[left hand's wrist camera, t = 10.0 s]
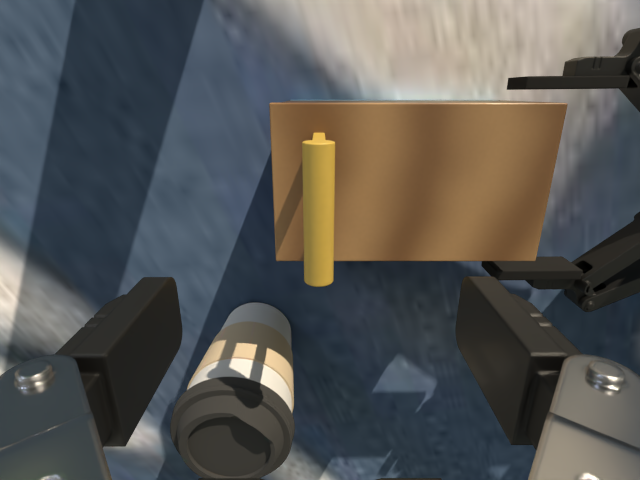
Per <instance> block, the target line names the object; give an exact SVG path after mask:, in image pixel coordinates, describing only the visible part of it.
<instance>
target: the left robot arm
mask: <svg viewBox="0 0 640 480" xmlns="http://www.w3.org/2000/svg"><path fill="white" fill-rule="evenodd" d="M181 340H182V322H181V315H180V308H179V300H178V293H177V286H176V282H175V280H174V279H173V278H172V277H144V278H142V279H141V280H140V281H139V282H138V283H137V284H136V285H135V286H134V287H133V288H132V289H131V291H130V292H129V293H128V294H127V295H122V296H120V297H118V298H116V299H114V300H112V301H111V302H109V303H107V304H105V305H104V306H103V307H102V308H101V309H100V310H99V311H98V312H97V313H96V314H95V315H94V318H91V319H90V320H89V321H88V322H87V323H86V324H85V327H82V328H81V329H80V330H79V331H78V332H77V333H76V334H75V335H74V336H73V337H72V338H71V339H70V340H69V341H68V342H67V343H66V344H65V345H64V346H63V347H62V348H61V349H60V350H59V351H58V352H57V353H56V354H55V355H47V356H42V357H38V358H34V359H31V360H28V361H25V362H23V363H21V364H19V365H17V366H15V367H13V368H11V369H9V370H8V371H6V372H5V373H4V374H2V375H1V376H0V480H112V478H111V475H110V471H109V468H108V465H107V461H106V458H105V454H104V451H103V447H104V446H126V444H127V443H128V441H129V439H130V437H131V435H132V433H133V432H134V430H135V428H136V426H137V424H138V423H139V421H140V419H141V417H142V415H143V414H144V412H145V410H146V408H147V406H148V404H149V403H150V401H151V399H152V397H153V395H154V394H155V392H156V390H157V388H158V386H159V384H160V383H161V381H162V379H163V377H164V375H165V374H166V372H167V370H168V368H169V366H170V365H171V363H172V361H173V359H174V357H175V355H176V354H177V352H178V350H179V348H180V345H181ZM456 340H457V344H458V347H459V349H460V351H461V353H462V355H463V357H464V359H465V361H466V362H467V364H468V366H469V368H470V370H471V372H472V373H473V375H474V377H475V379H476V381H477V383H478V384H479V386H480V388H481V390H482V392H483V394H484V395H485V397H486V399H487V401H488V403H489V405H490V406H491V408H492V410H493V412H494V414H495V416H496V417H497V419H498V421H499V423H500V425H501V427H502V428H503V430H504V432H505V434H506V436H507V438H508V439H509V441H510V443H511V445H533V446H534V447H535V449H536V454H535V458H534V461H533V465H532V468H531V471H530V475H529V478H528V480H640V376H639V375H638V374H636V373H635V372H634V371H632V370H631V369H629V368H627V367H625V366H623V365H621V364H619V363H617V362H615V361H612V360H609V359H606V358H602V357H598V356H593V355H583V354H582V353H581V352H580V351H579V350H578V349H577V348H576V347H575V346H574V345H573V344H572V343H571V342H570V341H569V340H568V339H567V338H566V337H565V336H564V335H563V334H562V333H561V332H560V331H559V330H558V329H557V328H556V327H555V326H552V323H551V322H550V321H549V320H548V319H547V318H546V317H543V314H542V313H541V312H540V311H539V310H538V309H537V308H536V307H535V306H534V305H533V304H532V303H530V302H528V301H526V300H524V299H523V298H521V297H519V296H517V295H515V294H510V293H509V292H508V291H507V289H506V288H505V287H504V286H503V285H502V284H501V283H500V282H499V281H498V280H497V279H496V278H495V277H465V278H464V279H463V281H462V285H461V291H460V299H459V306H458V313H457V321H456ZM198 480H263V479H259V478H199V479H198ZM377 480H442V479H441V478H381V479H377Z"/></svg>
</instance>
